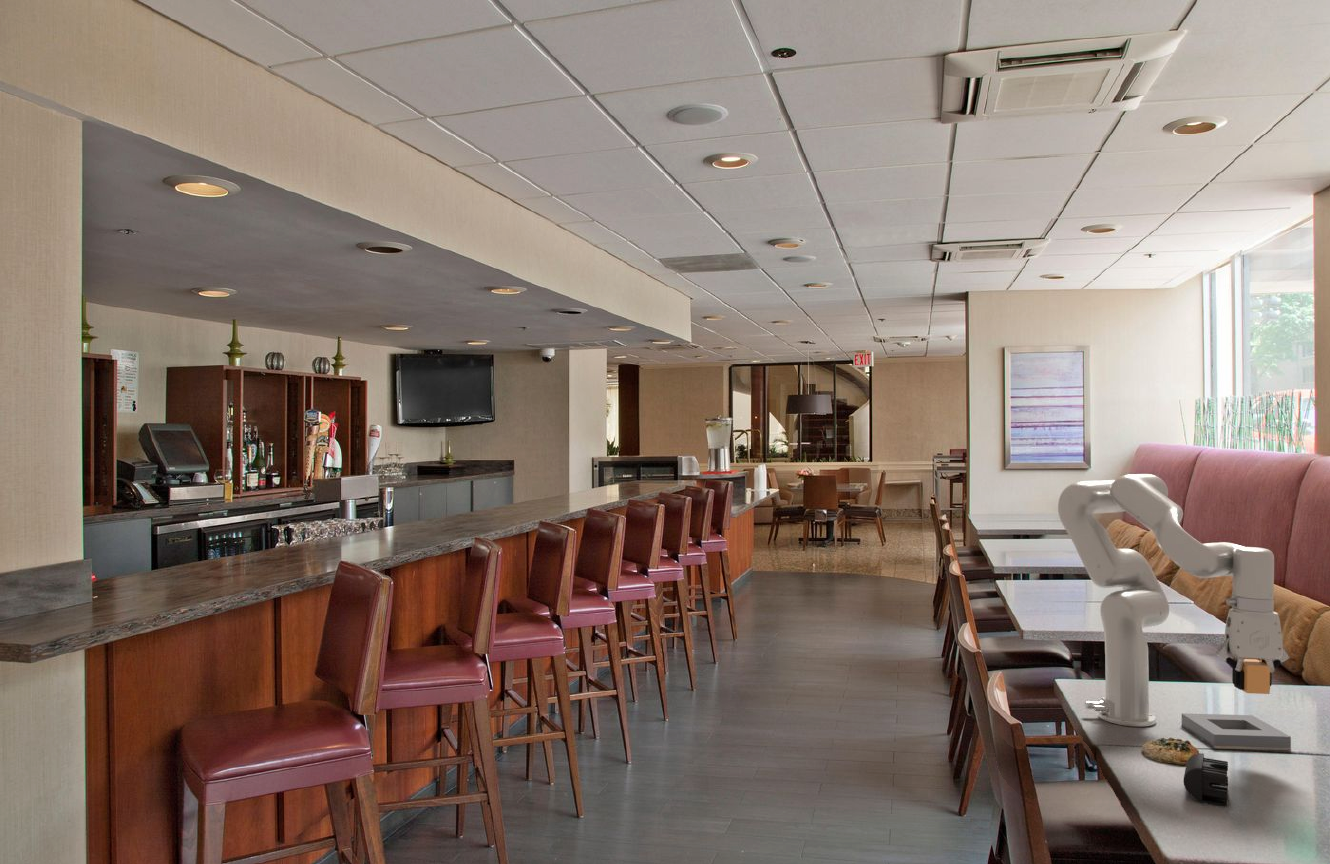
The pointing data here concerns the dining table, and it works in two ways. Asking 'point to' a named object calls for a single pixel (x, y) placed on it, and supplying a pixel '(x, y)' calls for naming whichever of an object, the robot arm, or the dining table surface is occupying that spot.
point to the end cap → (1207, 780)
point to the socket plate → (1236, 732)
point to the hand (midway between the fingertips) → (1251, 687)
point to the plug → (1256, 676)
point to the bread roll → (1170, 750)
